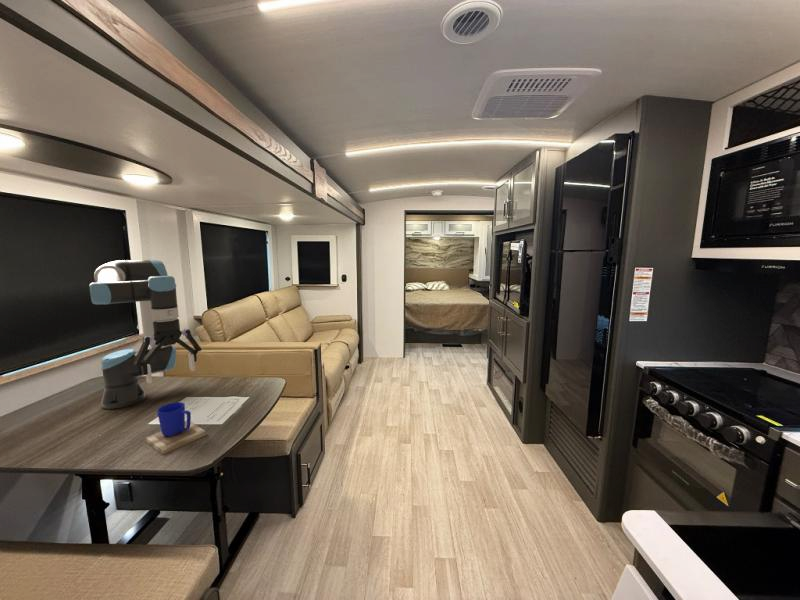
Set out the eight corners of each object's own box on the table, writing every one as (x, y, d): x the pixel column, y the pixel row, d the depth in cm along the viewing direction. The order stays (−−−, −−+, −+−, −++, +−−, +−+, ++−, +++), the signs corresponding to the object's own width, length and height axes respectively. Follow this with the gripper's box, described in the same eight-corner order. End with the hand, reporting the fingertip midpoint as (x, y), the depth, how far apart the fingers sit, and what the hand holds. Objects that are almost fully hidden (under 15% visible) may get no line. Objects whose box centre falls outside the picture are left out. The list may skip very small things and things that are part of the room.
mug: (181, 441, 110) (178, 415, 109) (154, 437, 113) (151, 411, 111) (200, 429, 118) (198, 404, 116) (175, 425, 121) (172, 401, 119)
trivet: (146, 441, 113) (145, 437, 113) (188, 423, 124) (188, 420, 124) (162, 454, 105) (162, 450, 105) (206, 434, 117) (205, 430, 117)
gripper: (124, 328, 98) (133, 391, 101) (208, 315, 119) (212, 367, 122) (116, 324, 102) (124, 385, 105) (198, 312, 123) (203, 364, 126)
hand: (172, 376), depth 114 cm, fingers open, 13 cm apart
